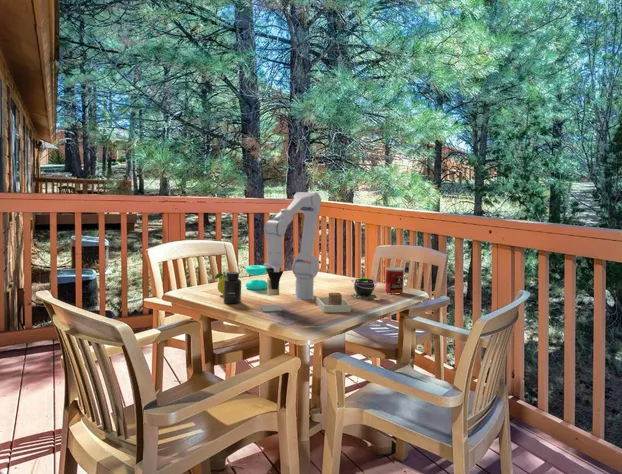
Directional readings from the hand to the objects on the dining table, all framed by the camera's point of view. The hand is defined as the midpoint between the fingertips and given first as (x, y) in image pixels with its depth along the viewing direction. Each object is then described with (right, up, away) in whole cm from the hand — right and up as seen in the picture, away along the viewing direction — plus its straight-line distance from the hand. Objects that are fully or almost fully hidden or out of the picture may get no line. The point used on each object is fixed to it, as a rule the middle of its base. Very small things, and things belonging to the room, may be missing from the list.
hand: (274, 287), depth 190 cm
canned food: (+51, -6, +35) cm, 62 cm away
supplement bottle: (-17, -7, +10) cm, 21 cm away
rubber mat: (0, -8, +1) cm, 8 cm away
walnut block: (+23, -8, 0) cm, 24 cm away
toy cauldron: (+36, -7, +24) cm, 44 cm away
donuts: (-11, -4, +38) cm, 40 cm away
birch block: (0, -3, 0) cm, 3 cm away
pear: (-23, -6, +23) cm, 33 cm away
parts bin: (+22, -8, +3) cm, 24 cm away
